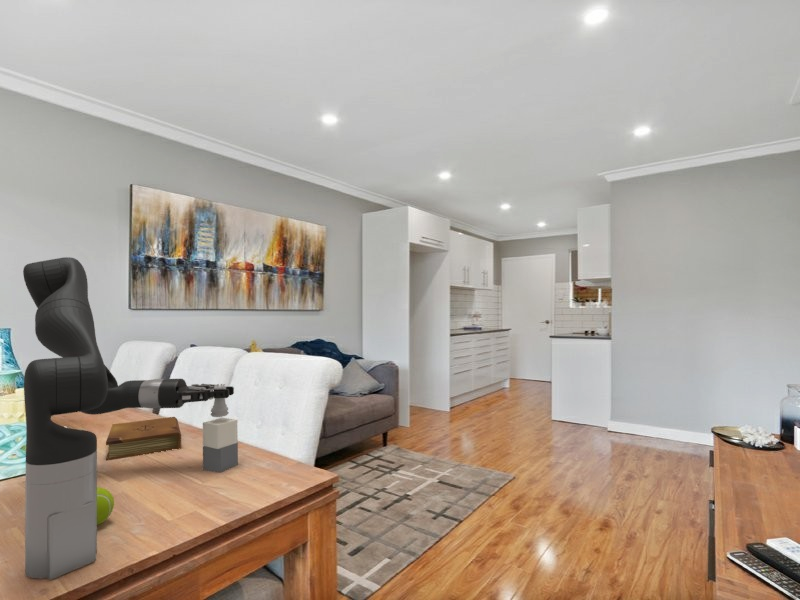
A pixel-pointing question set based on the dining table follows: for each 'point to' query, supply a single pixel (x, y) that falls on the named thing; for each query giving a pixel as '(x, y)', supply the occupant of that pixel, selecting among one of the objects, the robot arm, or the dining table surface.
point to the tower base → (220, 458)
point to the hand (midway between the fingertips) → (230, 392)
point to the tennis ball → (104, 504)
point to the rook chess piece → (219, 404)
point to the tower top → (220, 433)
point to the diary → (143, 437)
